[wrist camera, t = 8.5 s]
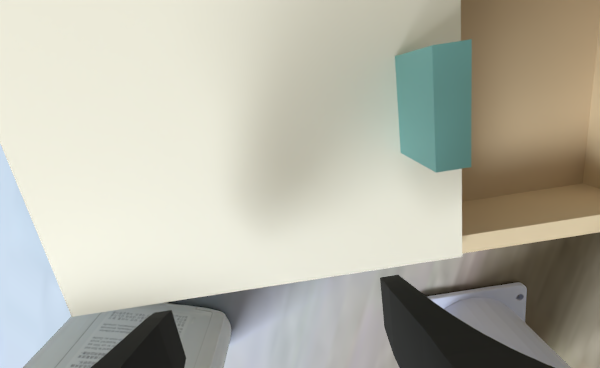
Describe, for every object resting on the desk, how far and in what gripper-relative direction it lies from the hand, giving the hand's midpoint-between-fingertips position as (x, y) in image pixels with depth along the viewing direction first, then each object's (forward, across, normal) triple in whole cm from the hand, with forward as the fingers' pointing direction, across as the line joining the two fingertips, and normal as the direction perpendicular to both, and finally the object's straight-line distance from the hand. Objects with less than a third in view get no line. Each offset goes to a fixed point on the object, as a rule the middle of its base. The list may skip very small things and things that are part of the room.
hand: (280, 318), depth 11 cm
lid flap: (+5, +1, -6) cm, 8 cm away
